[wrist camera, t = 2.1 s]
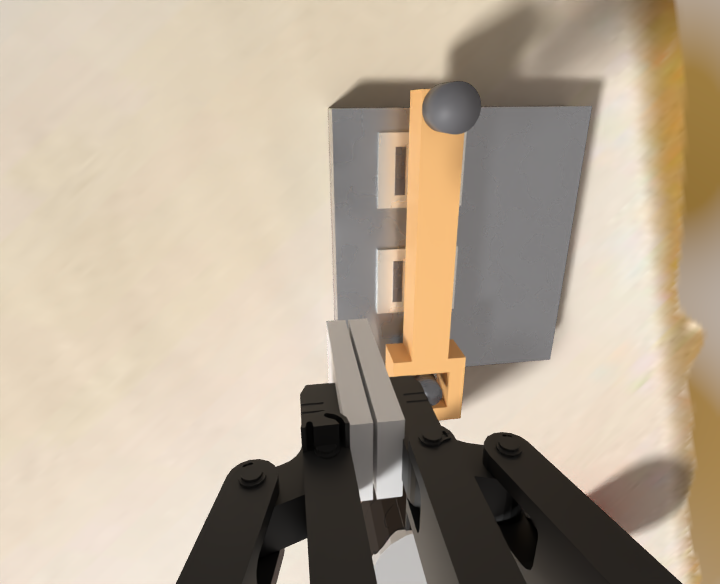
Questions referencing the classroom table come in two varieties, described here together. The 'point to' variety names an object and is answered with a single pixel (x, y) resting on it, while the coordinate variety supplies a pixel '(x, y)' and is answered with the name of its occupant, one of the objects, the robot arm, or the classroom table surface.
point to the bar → (434, 239)
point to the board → (461, 227)
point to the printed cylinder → (392, 541)
